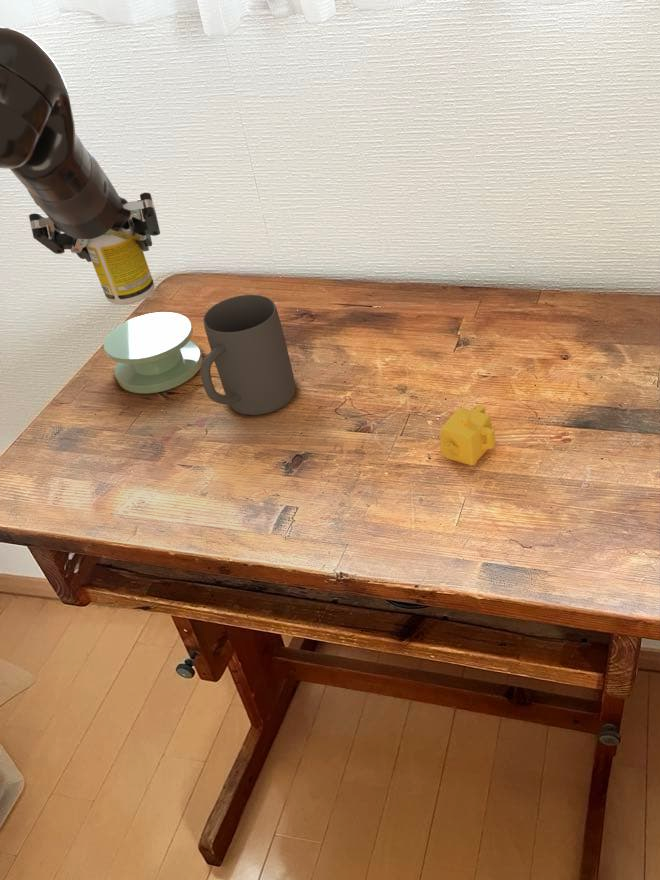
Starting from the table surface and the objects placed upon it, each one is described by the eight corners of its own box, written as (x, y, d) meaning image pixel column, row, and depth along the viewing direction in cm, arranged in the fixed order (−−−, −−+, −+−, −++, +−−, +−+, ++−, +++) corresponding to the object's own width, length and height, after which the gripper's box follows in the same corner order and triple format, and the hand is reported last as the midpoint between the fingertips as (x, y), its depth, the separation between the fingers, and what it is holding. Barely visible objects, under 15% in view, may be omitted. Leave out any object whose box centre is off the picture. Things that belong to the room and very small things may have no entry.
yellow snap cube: (476, 483, 91) (474, 446, 88) (432, 469, 94) (427, 432, 90) (510, 442, 96) (509, 405, 92) (466, 429, 99) (463, 393, 95)
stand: (164, 400, 110) (151, 366, 106) (99, 383, 115) (84, 350, 111) (219, 353, 117) (209, 319, 114) (155, 339, 122) (143, 306, 118)
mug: (253, 370, 113) (231, 289, 105) (310, 382, 109) (291, 299, 101) (192, 428, 105) (162, 346, 97) (251, 443, 101) (225, 359, 93)
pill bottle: (164, 282, 107) (135, 196, 99) (142, 307, 102) (110, 219, 95) (121, 282, 108) (89, 197, 101) (98, 306, 104) (63, 219, 96)
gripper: (132, 140, 87) (168, 208, 103) (-7, 165, 86) (53, 230, 103) (147, 210, 87) (181, 267, 103) (8, 236, 86) (65, 289, 102)
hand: (117, 248), depth 103 cm, fingers closed on pill bottle, 6 cm apart
